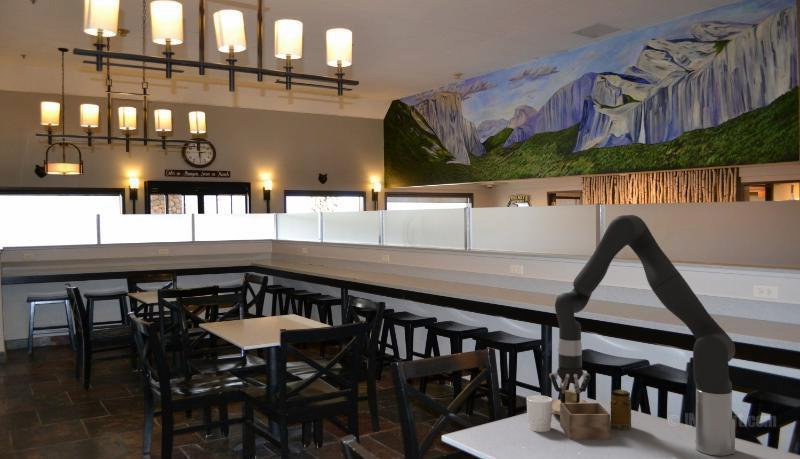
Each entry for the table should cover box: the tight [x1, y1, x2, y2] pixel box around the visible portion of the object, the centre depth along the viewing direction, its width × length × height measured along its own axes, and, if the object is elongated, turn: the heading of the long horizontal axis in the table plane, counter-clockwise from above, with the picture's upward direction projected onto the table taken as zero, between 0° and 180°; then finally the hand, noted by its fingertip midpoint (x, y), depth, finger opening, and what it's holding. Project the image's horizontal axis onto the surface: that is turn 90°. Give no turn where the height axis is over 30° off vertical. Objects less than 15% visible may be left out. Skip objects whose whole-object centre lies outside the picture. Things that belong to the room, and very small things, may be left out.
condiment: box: [610, 389, 632, 431], centre depth 202 cm, size 7×8×12 cm
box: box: [559, 402, 611, 440], centre depth 198 cm, size 12×12×8 cm
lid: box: [552, 389, 588, 416], centre depth 216 cm, size 13×13×6 cm
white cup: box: [526, 394, 553, 433], centre depth 202 cm, size 8×8×10 cm
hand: (570, 403), depth 216 cm, fingers closed on lid, 3 cm apart
